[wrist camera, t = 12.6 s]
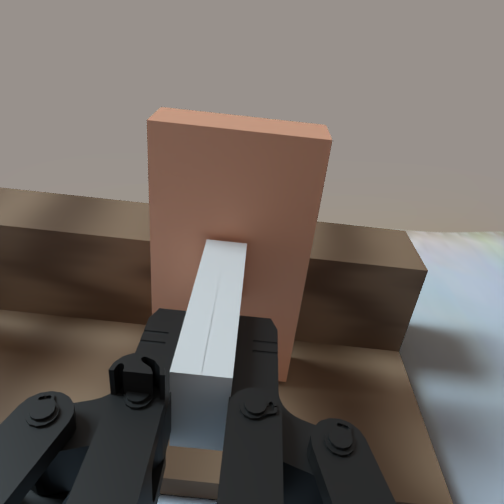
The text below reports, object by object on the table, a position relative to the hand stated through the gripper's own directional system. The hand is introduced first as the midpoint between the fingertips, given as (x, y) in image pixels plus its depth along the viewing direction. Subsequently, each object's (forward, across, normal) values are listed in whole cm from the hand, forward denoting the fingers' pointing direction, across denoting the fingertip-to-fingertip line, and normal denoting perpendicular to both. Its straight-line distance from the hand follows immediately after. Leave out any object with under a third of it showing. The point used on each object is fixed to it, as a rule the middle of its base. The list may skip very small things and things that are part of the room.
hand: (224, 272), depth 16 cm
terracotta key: (+1, 0, -6) cm, 6 cm away
